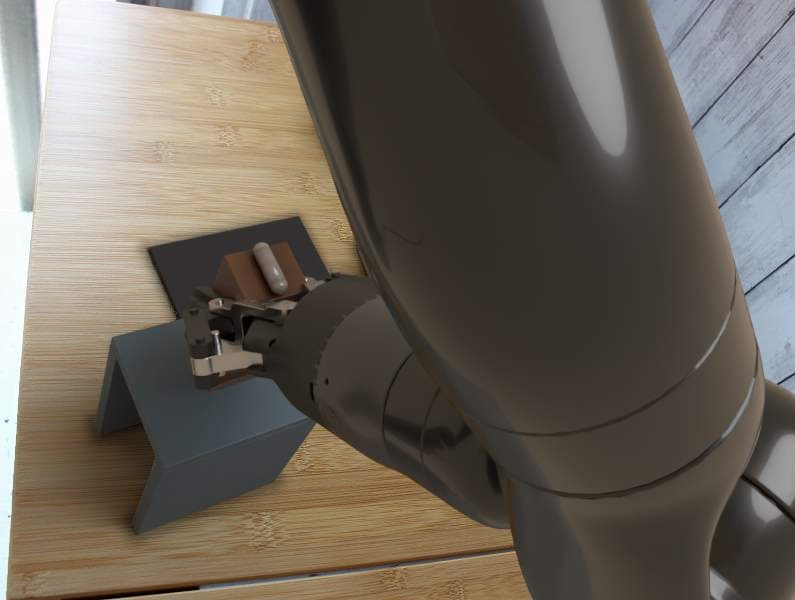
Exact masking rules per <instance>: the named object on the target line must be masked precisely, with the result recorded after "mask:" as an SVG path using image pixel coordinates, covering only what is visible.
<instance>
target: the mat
mask: <svg viewBox="0 0 795 600" xmlns="http://www.w3.org/2000/svg"><path fill="white" fill-rule="evenodd" d="M260 242H264V243H266V244H268V245H269V246H270V245H275V244H279V243H284V242H287V244H288V246H289V248H290V250H291V252H292V254H293V256H294V257H295V259H296V261H297V263H298V265H299V267H300V269H301V271H302V273H303V275H304V277H311V278H314V279H315V280H316V281H320V280H324V281H325V282H326V276H327V275H329V274H330V272H329V271H328V269H327V267H326V265H325V263H324V261H323V259H322V257H321V255H320V253H319V251H318V250H317V248H316V246H315V244H314V243H313V240H312V238H311V236H310V234H309V232H308V230H307V229H306V226H305V225H304V223H303V221H302V219H301V217H300V216H299V215H296V216H293V217H292V216H291V217H287V218H282V219H278V220H273V221H268V222H264V223H258V224H253V225H248V226H244V227H239V228H233V229H229V230H225V231H220V232H215V233H210V234H206V235H201V236H197V237H191V238H187V239H181V240H176V241H171V242H167V243H162V244H157V245H152V246H149V247H148V252H149V255H150V257H151V259H152V261H153V264H154V266H155V268H156V271H157V273H158V275H159V277H160V281H161V282H162V284H163V286H164V289H165V291H166V294H167V296H168V298H169V300H170V302H171V305H172V307H173V309H174V312H175V313H176V316H177V318H178V319H177V320H179V319H183V312H184V311H186V310H189V309H191V308H190V302H189V296H193V289H194V288H196V287H200V286H204V285H206V286H208V287H210V288H213V285H214V283H215V280H216V277H217V275H218V272H219V269H220V266H221V264H222V261H223V258H224V256H225V255H229V254H234V253H238V252H243V251H247V250H252V249H254V246H255V245H256V244H258V243H260Z"/></svg>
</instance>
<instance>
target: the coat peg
mask: <svg viewBox="0 0 795 600" xmlns="http://www.w3.org/2000/svg"><path fill="white" fill-rule="evenodd" d="M302 283H307V281H306V279H305V277H304V275H303V273H302V271H301V269H300V267H299V265H298V263H297V261H296V259H295V257H294V256H293V254H292V252H291V250H290V248H289V246H288V244H287V242H284V243H279V244H275V245H270V246H269V245H268V244H266V243H264V242H260V243H258V244H256V245H255V246H254V249H252V250H247V251H243V252H238V253H234V254H229V255H225V256H224V258H223V261H222V264H221V266H220V269H219V272H218V275H217V277H216V280H215V283H214V285H213V288H212V289H213V290H215V291H216V292H218V293H220V294H222V295H224V296H226V297H227V299H231V300H235V301H240V300H242V299H245V298H248V297H251V296H253V297H257V298H261V299H265V300H270V301H274V302H281V301H283V300H288V301H293V302H296V301H300V300H301V299H302V298H303V297H304V293H305V292H304V288H303V284H302ZM184 336H185V338H186V340H187V336H186V331H185V334H184ZM187 343H188V342H187ZM225 372H226V374H225V375H224V376H218V381H219V384H218V385H217V386H216V387H214V388H211V389H208V391H209V392H212V391H215V390H218V389H222V388H225V387H228V386H231V385H235V384H238V383H241V382H244V381H247V380H251V379H254V378H257V377H256V376H253V375H251V374H250V373H249V372H248V371H247V370H246V368H241V369H235V370H229V371H225Z"/></svg>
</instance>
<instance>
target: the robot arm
mask: <svg viewBox="0 0 795 600" xmlns="http://www.w3.org/2000/svg"><path fill="white" fill-rule="evenodd" d="M267 2H268V4H269V7H270V8H271V11H272V14H273V16H274V19H275V21H276V24H277V26H278V29H279V32H280V35H281V38H282V40H283V43H284V46H285V48H286V51H287V54H288V57H289V60H290V63H291V65H292V68H293V70H294V74H295V77H296V79H297V80H296V81H297V82H298V85H299V88H300V90H301V94H302V97H303V99H304V102H305V105H306V108H307V111H308V113H309V116H310V119H311V121H312V124H313V127H314V129H315V133H316V135H317V138H318V141H319V144H320V147H321V148H322V152H323V155H324V157H325V160H326V163H327V166H328V167H327V168H328V170H329V172H330V175H331V178H332V181H333V185H334V188H335V190H336V191H335V192H336V194H337V196H338V198H339V201H340V205H341V207H342V211H343V212H344V215H345V218H346V220H347V223H348V226H349V229H350V231H351V233H352V236H353V238H354V240H355V243H356V245H357V249H358V248H359V250H360V252H361V255H362V257H363V260H364V262H365V264H366V266H367V268H368V270H369V273H370V275H371V277H372V278H369V276H368V277H367V276H361V275H355V274H347V273H341V272H337V271H336V272H332V273H329V275H327V276H326V282H325V281H324V280H320V281H316V280H315V279H314V278H311V277H305V279H306V281H307V283H302V284H303V288H304V292H305V293H304V297H303V298H302V299H301V300H300V301H296V302H293V301H288V300H283V301H281V302H274V301H270V300H265V299H261V298H257V297H253V296H251V297H248V298H245V299H242V300H240V301H235V300H231V299H227V297H226V296H224V295H222V294H220V293H218V292H216V291H215V290H213V289H212V288H210V287H208V286H206V285H204V286H200V287H196V288H194V289H193V296H189V302H190V308H191V309H189V310H186V311H184V312H183V318H184V324H185V330H186V336H187V342H188V351H189V357H190V363H191V368H192V374H193V379H194V385H195V388H197V389H201V390H205V389H211V388H214V387H216V386H217V385H218V384H219V381H218V376H224V375H225V374H226V372H225V371H229V370H235V369H241V368H246V370H247V371H248V372H249V373H250V374H251V375H253V376H256V377H261V378H267V379H271V380H273V381H274V382H275V383H276V385H277V386H278V387H279V389H280V390H281V391H282V393H283V394H284V396H285V397H286V398H287V399H288V401H289V402H290V403H291V404H292V405H293V406H294V407H295V408H296V409H297V410H299V411H300V412H301V413H303V414H304V415H306V416H307V417H309V418H310V419H312V420H313V421H315V422H316V423H317V425H319V426H320V427H322V428H324V429H325V430H327V432H329V433H331V434H332V435H334V436H335V437H337V438H338V439H340V440H341V441H342V442H344V443H346V444H347V445H348V446H350V447H351V448H352V449H354V450H356V451H358V452H359V453H360V454H361V455H363V456H365V457H366V458H368V459H369V460H370V461H373V462H375V463H376V464H378V465H380V466H383V467H385V468H387V469H390V470H392V471H394V472H397V473H399V474H401V475H403V476H405V477H407V478H408V479H410V480H411V481H412V482H414V483H416V485H418V486H420V487H422V488H423V489H425V490H426V491H428V492H429V493H431V494H432V495H434V496H435V497H436V498H438V499H439V500H441V501H442V502H444V503H445V504H447V505H448V506H450V507H451V508H453V509H455V510H456V511H457V512H459V513H460V514H462V515H464V516H465V517H467V518H468V519H470V520H472V521H474V522H476V523H478V524H481V525H483V526H485V527H487V528H491V529H496V530H510V533H511V538H512V542H513V548H514V551H515V554H516V558H517V561H518V565H519V568H520V571H521V574H522V577H523V580H524V583H525V585H526V588H527V590H528V592H529V594H530V597H531V599H532V600H795V394H794V393H793V392H791V391H790V390H788V389H787V388H785V387H783V386H782V385H779V384H778V383H776V382H774V381H771V380H770V379H767V378H766V377H765V371H764V365H763V360H762V355H761V350H760V346H759V343H758V339H757V336H756V331H755V328H754V324H753V320H752V317H751V312H750V310H749V306H748V304H747V300H746V295H745V292H744V289H743V285H742V281H741V278H740V275H739V272H738V268H737V265H736V264H737V263H736V260H735V258H734V253H733V250H732V246H731V243H730V240H729V236H728V234H727V230H726V226H725V223H724V221H723V217H722V214H721V211H720V208H719V205H718V201H717V199H716V195H715V192H714V189H713V186H712V183H711V180H710V178H709V174H708V171H707V168H706V165H705V162H704V159H703V157H702V154H701V151H700V148H699V145H698V142H697V139H696V136H695V134H694V130H693V127H692V125H691V122H690V119H689V116H688V113H687V111H686V107H685V105H684V102H683V99H682V96H681V93H680V90H679V87H678V85H677V81H676V79H675V77H674V73H673V71H672V68H671V65H670V62H669V59H668V57H667V53H666V51H665V47H664V45H663V42H662V39H661V36H660V33H659V31H658V28H657V25H656V22H655V20H654V16H653V14H652V10H651V7H650V4H649V1H648V0H267Z"/></svg>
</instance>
